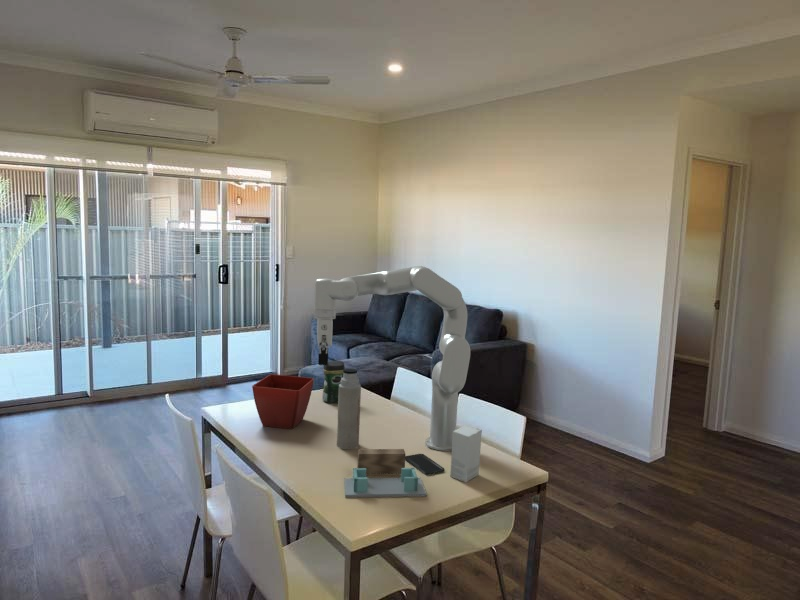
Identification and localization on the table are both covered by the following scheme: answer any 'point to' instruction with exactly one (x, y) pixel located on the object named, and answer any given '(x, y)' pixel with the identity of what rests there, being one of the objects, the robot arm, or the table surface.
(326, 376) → the coffee jar
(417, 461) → the phone
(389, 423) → the table surface
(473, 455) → the skincare box
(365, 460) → the brown wooden block
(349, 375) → the thermos bottle
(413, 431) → the table surface
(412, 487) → the rail
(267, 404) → the plant pot
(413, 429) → the table surface
